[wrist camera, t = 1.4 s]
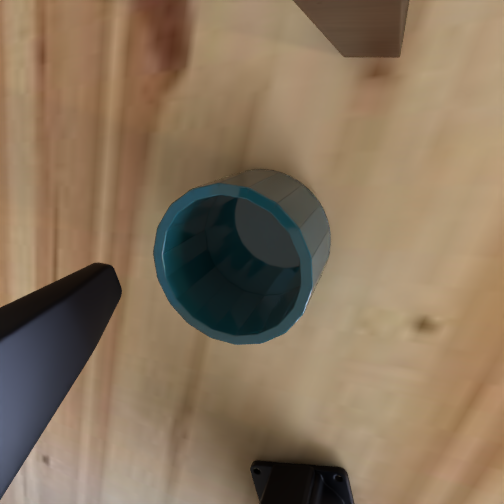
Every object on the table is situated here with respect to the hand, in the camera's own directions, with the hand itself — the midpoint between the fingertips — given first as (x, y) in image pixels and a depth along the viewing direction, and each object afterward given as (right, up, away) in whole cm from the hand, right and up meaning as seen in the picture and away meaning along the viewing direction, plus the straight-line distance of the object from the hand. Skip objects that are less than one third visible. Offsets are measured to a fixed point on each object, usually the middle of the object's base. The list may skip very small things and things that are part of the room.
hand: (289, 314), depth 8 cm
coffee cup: (0, +2, +13) cm, 13 cm away
